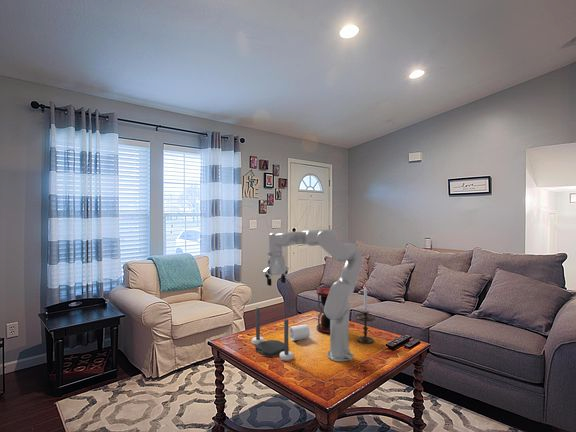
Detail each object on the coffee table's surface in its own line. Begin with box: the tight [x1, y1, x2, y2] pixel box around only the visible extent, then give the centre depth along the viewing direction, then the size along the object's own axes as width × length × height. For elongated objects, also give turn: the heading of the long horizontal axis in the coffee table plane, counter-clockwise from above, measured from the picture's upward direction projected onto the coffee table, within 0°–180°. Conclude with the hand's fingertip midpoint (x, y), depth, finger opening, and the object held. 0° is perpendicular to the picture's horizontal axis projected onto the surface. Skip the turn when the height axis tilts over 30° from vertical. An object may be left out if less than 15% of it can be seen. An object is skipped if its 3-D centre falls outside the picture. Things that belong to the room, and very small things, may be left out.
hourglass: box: [316, 287, 331, 335], centre depth 216 cm, size 16×16×25 cm
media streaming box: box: [255, 339, 284, 358], centre depth 187 cm, size 15×15×3 cm
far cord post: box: [251, 307, 265, 346], centre depth 197 cm, size 7×7×20 cm
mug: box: [288, 323, 311, 342], centre depth 203 cm, size 12×10×8 cm
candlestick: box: [355, 281, 376, 345], centre depth 198 cm, size 11×11×35 cm
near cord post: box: [279, 318, 294, 362], centre depth 177 cm, size 7×7×20 cm
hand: (276, 284), depth 195 cm, fingers open, 9 cm apart
